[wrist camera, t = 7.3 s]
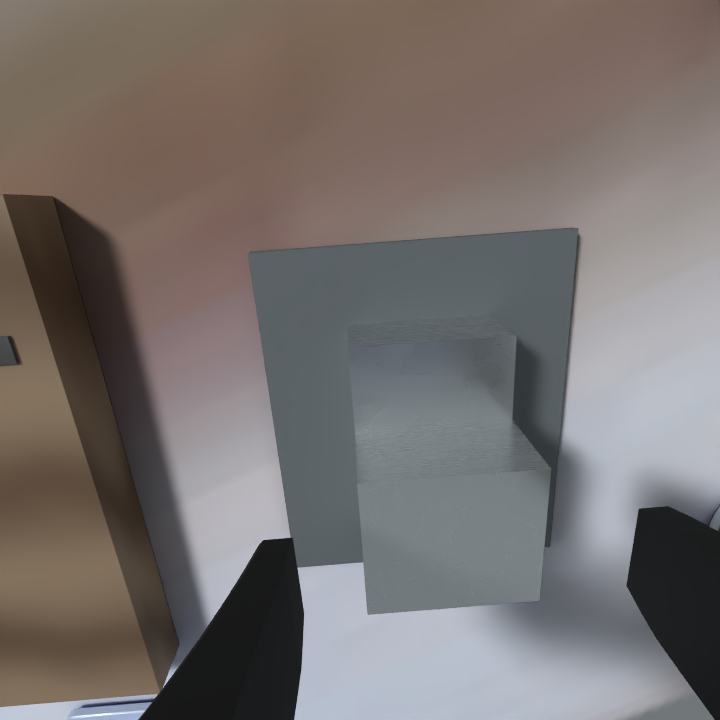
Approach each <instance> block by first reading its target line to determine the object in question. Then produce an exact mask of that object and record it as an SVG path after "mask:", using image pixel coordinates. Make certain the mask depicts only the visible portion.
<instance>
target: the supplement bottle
mask: <svg viewBox="0 0 720 720" xmlns="http://www.w3.org/2000/svg"><path fill="white" fill-rule="evenodd" d="M709 527H711V528H713V529H715V530H717V531H719V532H720V507H719V508H718V509H717V511H716V512H715V514H714V516H713V518H712V520H711V523H710V526H709Z"/></svg>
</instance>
